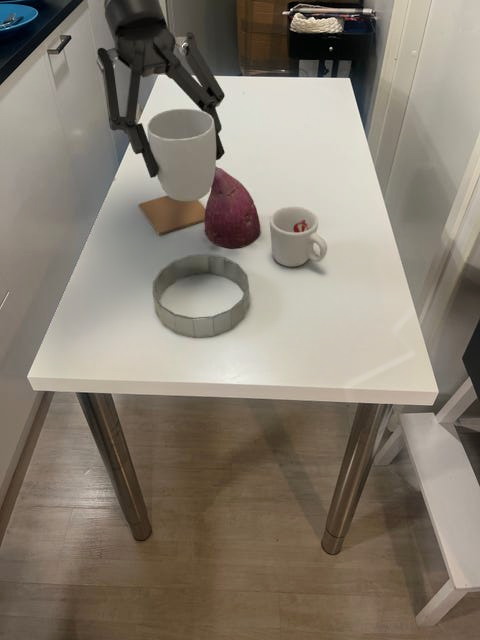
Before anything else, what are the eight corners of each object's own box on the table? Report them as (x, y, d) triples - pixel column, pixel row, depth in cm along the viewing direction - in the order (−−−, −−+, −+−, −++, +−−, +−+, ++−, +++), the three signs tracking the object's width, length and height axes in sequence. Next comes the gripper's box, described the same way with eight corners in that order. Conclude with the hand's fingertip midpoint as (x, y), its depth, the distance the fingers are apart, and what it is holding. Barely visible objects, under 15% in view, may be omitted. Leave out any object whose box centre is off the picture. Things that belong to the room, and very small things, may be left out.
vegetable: (204, 258, 92) (174, 195, 81) (215, 220, 98) (188, 156, 87) (258, 253, 89) (234, 187, 78) (266, 214, 95) (245, 147, 84)
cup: (336, 263, 86) (342, 225, 80) (307, 286, 82) (312, 248, 76) (287, 237, 91) (290, 200, 85) (259, 258, 87) (259, 220, 81)
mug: (221, 204, 70) (217, 137, 62) (157, 209, 69) (145, 142, 62) (215, 158, 78) (210, 94, 71) (158, 163, 78) (147, 98, 70)
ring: (178, 350, 73) (175, 332, 70) (142, 290, 82) (138, 272, 79) (265, 315, 77) (266, 297, 75) (222, 262, 86) (221, 244, 84)
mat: (159, 235, 92) (158, 233, 92) (138, 206, 99) (138, 203, 98) (212, 218, 95) (212, 216, 95) (189, 191, 102) (188, 189, 102)
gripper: (197, 9, 74) (248, 155, 75) (50, 33, 67) (109, 193, 69) (210, -26, 66) (266, 136, 68) (47, -3, 60) (114, 177, 62)
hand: (188, 165), depth 68 cm, fingers closed on mug, 9 cm apart
